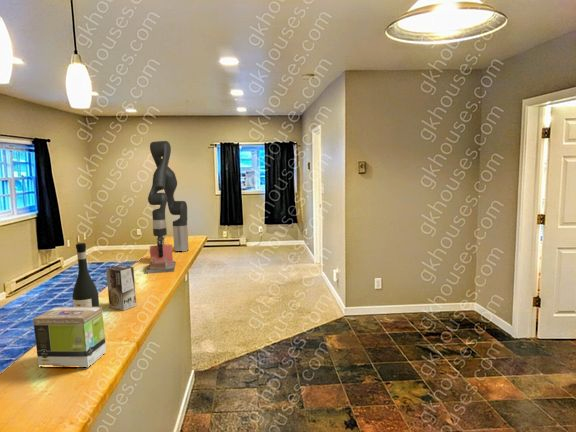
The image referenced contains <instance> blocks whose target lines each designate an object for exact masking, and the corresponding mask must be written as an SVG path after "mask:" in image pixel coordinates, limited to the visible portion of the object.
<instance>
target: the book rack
mask: <svg viewBox="0 0 576 432" xmlns="http://www.w3.org/2000/svg"><path fill="white" fill-rule="evenodd" d="M171 262H173V266H172V267H166V268H165V263H164V262H158V263H155V257H152V259H151V258H150V261H149V264H148V266H147V269H146V270H145V274H147V273H149V274H159V273H171V272H172V273H173V272H175V268H176V263H177V262H176V261H175V260H173V261H171ZM167 263H168V262H167ZM147 275H148V274H147Z"/></svg>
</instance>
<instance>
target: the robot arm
mask: <svg viewBox="0 0 576 432" xmlns="http://www.w3.org/2000/svg"><path fill="white" fill-rule="evenodd" d="M149 151H150V153H151V157H152V159H153V161H154V163H155V166H156V168H155V171H154V172H153V175H152V183H151V184H152V185H151V188H150V192H149V193H148V197H147V202H148V204H150V205H151V206H159V207H158V208H155V209H153V210H152V214H151V215H152V236H154V237H157V238H156V245H157V246H158V251H159V257H163V246H164V245H165V237H163V236H167V235H168V234H167V233H168V231H167V230H168V229H167V221H166V206H167V208H168V211H169V213H170V214H171V215H172V216H179V218H178V219H175V220H173V221H172V233H173V234H172V235H173V251H174V250H175V251H186V252H188V251H189V247H190V246H189V234H188V233H189V232H188V230H189V229H188V205H187V202H186V201H184V200H175V196H174V195H175V192H176V189H177V186H178V180H177V177H176V173H175V172H174V171H173V170H172V169H171V167H169V163H170V158H171V153H172V146H171V144H170V142H169V141H168V140H158V141H156V140H155V141H151V142H150V143H149ZM160 191H164V192H160ZM159 247H161V248H159ZM187 250H188V251H187Z"/></svg>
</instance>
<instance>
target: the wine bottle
mask: <svg viewBox="0 0 576 432" xmlns="http://www.w3.org/2000/svg"><path fill="white" fill-rule="evenodd" d="M86 248H87V244H86V243H85V242H79V243H76V244H75V250H76V255H77V265H78V272H77V273H78V274H77V277H76V281H75V284H74V286H73V291H72V305H73V306H72V307H100V300H99V292H98V289H97V286H96V284H95V282H94V281H93V279H92V277H91V275H90V273H89V269H88V264H87V263H88V262H87V252H86V251H87V249H86Z"/></svg>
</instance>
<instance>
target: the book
mask: <svg viewBox="0 0 576 432" xmlns="http://www.w3.org/2000/svg"><path fill="white" fill-rule="evenodd" d="M159 248H161V247H159ZM149 256H150V260H151V259H152V257H155V263H158V262H164V259H165V256H167V262H171V261H174V259H173V257H174V256H173V245H172V243H171V244H164V246H163V257H159V251H158V246H157V244H156V245H150V246H149Z"/></svg>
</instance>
